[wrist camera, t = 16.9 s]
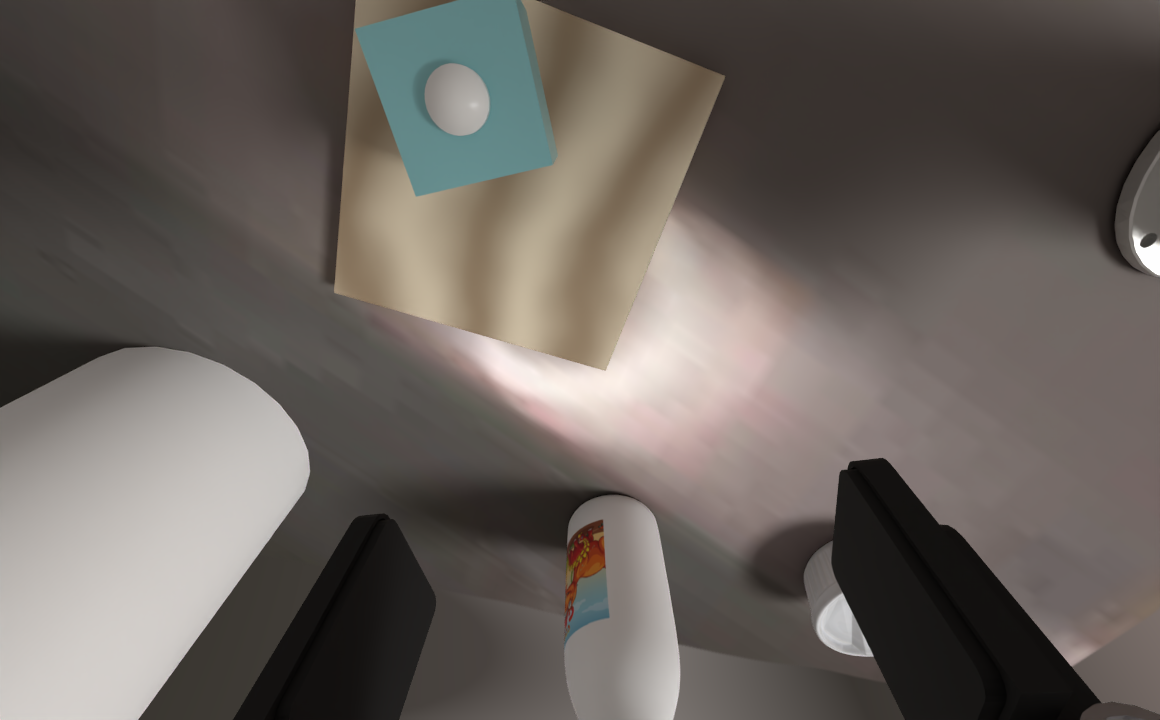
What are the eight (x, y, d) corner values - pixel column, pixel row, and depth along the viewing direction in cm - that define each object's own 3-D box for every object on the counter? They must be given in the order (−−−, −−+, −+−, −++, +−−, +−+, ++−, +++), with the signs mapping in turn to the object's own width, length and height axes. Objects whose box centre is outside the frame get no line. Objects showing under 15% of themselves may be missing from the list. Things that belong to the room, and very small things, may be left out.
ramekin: (766, 572, 43) (788, 628, 39) (865, 502, 39) (903, 555, 34) (843, 616, 46) (872, 672, 42) (942, 555, 42) (987, 611, 37)
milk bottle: (633, 478, 38) (677, 801, 20) (670, 536, 41) (736, 858, 23) (551, 511, 40) (526, 832, 22) (593, 564, 43) (600, 881, 25)
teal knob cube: (398, 44, 21) (348, 26, 16) (526, 9, 20) (510, -19, 16) (443, 182, 24) (411, 198, 19) (557, 155, 23) (551, 166, 19)
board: (719, 77, 24) (725, 76, 23) (604, 362, 33) (605, 370, 31) (371, -62, 22) (361, -70, 21) (342, 286, 30) (334, 292, 29)
